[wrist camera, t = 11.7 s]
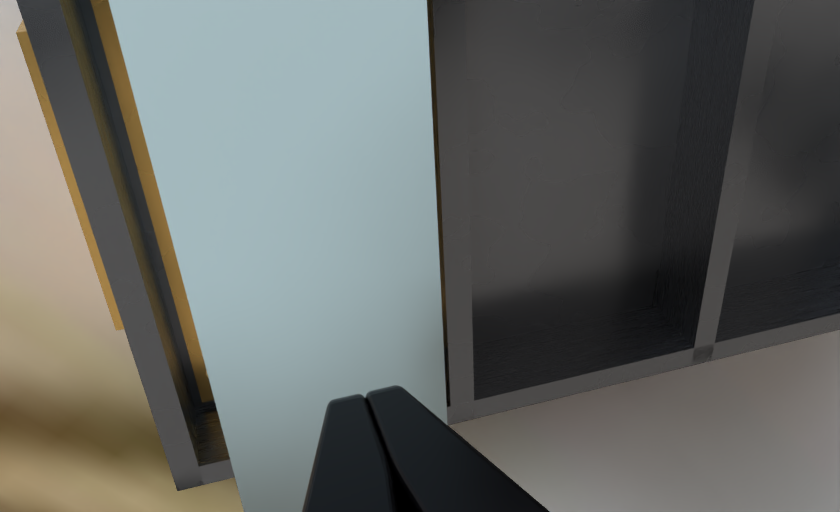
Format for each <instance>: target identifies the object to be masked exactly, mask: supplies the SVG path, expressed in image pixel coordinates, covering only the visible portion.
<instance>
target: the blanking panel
mask: <svg viewBox="0 0 840 512" xmlns="http://www.w3.org/2000/svg"><path fill="white" fill-rule="evenodd" d="M108 1H109V5H110V9H111V12H112V16H113V20H114V24H115V27H116V31H117V35H118V39H119V42H120V46H121V50H122V54H123V57H124V61H125V65H126V69H127V73H128V76H129V80H130V84H131V88H132V91H133V95H134V99H135V103H136V106H137V110H138V114H139V118H140V121H141V125H142V129H143V133H144V137H145V140H146V144H147V148H148V152H149V155H150V159H151V163H152V167H153V170H154V174H155V178H156V182H157V186H158V189H159V193H160V197H161V201H162V204H163V208H164V212H165V216H166V219H167V223H168V227H169V231H170V234H171V238H172V242H173V246H174V250H175V253H176V257H177V261H178V265H179V268H180V272H181V276H182V280H183V283H184V287H185V291H186V295H187V298H188V302H189V306H190V310H191V314H192V317H193V321H194V325H195V329H196V332H197V336H198V340H199V344H200V347H201V351H202V355H203V359H204V363H205V366H206V370H207V374H208V378H209V381H210V385H211V389H212V393H213V396H214V400H215V404H216V408H217V411H218V415H219V419H220V423H221V427H222V430H223V434H224V438H225V442H226V445H227V449H228V453H229V457H230V460H231V464H232V468H233V472H234V475H235V479H236V483H237V487H238V491H239V494H240V498H241V502H242V506H243V509H244V512H302V509H303V505H304V501H305V496H306V492H307V488H308V484H309V479H310V475H311V471H312V467H313V463H314V458H315V454H316V450H317V446H318V441H319V437H320V433H321V429H322V425H323V420H324V416H325V412H326V408H327V405H328V403H329V402H330V401H331V400H333V399H337V398H341V397H345V396H350V395H354V394H362V395H363V396H364V397H365V396H366V394H367V393H368V392H369V391H371V390H376V389H380V388H385V387H389V386H393V385H398V386H401V387H403V388H404V389H405V390H406V391H408V392H409V393H410V394H411V395H412V396H414V397H415V398H416V399H417V400H418V401H419V402H421V403H422V404H423V405H424V406H425V407H427V408H428V409H429V410H430V411H431V412H432V413H434V414H435V415H436V416H437V417H438V418H440V419H441V420H442V421H443V422H444V423H445V424H447V404H446V384H445V363H444V343H443V322H442V302H441V281H440V261H439V241H438V220H437V200H436V179H435V159H434V139H433V118H432V98H431V77H430V57H429V36H428V16H427V0H108ZM447 425H448V424H447Z"/></svg>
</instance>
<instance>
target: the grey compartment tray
mask: <svg viewBox="0 0 840 512" xmlns="http://www.w3.org/2000/svg"><path fill="white" fill-rule="evenodd" d="M17 3H18V6H19V9H20V12H21V15H22V18H23V20H22V22H21V24H20V26H19V28H18V30H17V32H16V34H17V37H18V40H19V43H20V46H21V48H22V51H23V54H24V57H25V60H26V63H27V66H28V69H29V72H30V75H31V78H32V81H33V84H34V87H35V90H36V93H37V96H38V99H39V102H40V105H41V108H42V111H43V114H44V117H45V120H46V123H47V126H48V129H49V132H50V135H51V138H52V141H53V144H54V147H55V150H56V153H57V156H58V159H59V162H60V165H61V168H62V171H63V174H64V177H65V180H66V183H67V186H68V189H69V192H70V194H71V197H72V200H73V203H74V206H75V209H76V212H77V215H78V218H79V221H80V224H81V227H82V230H83V233H84V236H85V239H86V242H87V245H88V248H89V251H90V254H91V257H92V260H93V263H94V266H95V269H96V272H97V275H98V278H99V281H100V284H101V287H102V290H103V293H104V296H105V299H106V302H107V305H108V308H109V311H110V314H111V317H112V320H113V323H114V326H115V329H116V330H121V329H125V332H126V335H127V338H128V341H129V344H130V348H131V351H132V354H133V357H134V360H135V363H136V366H137V369H138V372H139V375H140V378H141V381H142V384H143V387H144V390H145V393H146V396H147V399H148V402H149V405H150V409H151V412H152V415H153V418H154V421H155V424H156V427H157V430H158V433H159V436H160V439H161V442H162V445H163V448H164V451H165V454H166V457H167V460H168V463H169V466H170V470H171V473H172V476H173V479H174V482H175V485H176V488H177V491H180V490H184V489H188V488H193V487H197V486H201V485H205V484H209V483H213V482H217V481H221V480H225V479H229V478H233V477H235V475H234V472H233V468H232V464H231V460H230V457H229V453H228V449H227V445H226V442H225V438H224V434H223V430H222V427H221V423H220V419H219V415H218V411H217V408H216V404H215V400H214V396H213V393H212V389H211V385H210V381H209V378H208V374H207V370H206V366H205V363H204V359H203V355H202V351H201V347H200V344H199V340H198V336H197V332H196V329H195V325H194V321H193V317H192V314H191V310H190V306H189V302H188V298H187V295H186V291H185V287H184V283H183V280H182V276H181V272H180V268H179V265H178V261H177V257H176V253H175V250H174V246H173V242H172V238H171V234H170V231H169V227H168V223H167V219H166V216H165V212H164V208H163V204H162V201H161V197H160V193H159V189H158V186H157V182H156V178H155V174H154V170H153V167H152V163H151V159H150V155H149V152H148V148H147V144H146V140H145V137H144V133H143V129H142V125H141V121H140V118H139V114H138V110H137V106H136V103H135V99H134V95H133V91H132V88H131V84H130V80H129V76H128V73H127V69H126V65H125V61H124V57H123V54H122V50H121V46H120V42H119V39H118V35H117V31H116V27H115V24H114V20H113V16H112V12H111V9H110V5H109V1H108V0H17ZM427 16H428V36H429V57H430V77H431V98H432V118H433V139H434V159H435V179H436V200H437V220H438V241H439V261H440V281H441V302H442V322H443V343H444V363H445V384H446V404H447V424H448V425H450V424H455V423H459V422H463V421H467V420H471V419H475V418H479V417H483V416H487V415H491V414H495V413H500V412H504V411H508V410H512V409H516V408H520V407H524V406H528V405H532V404H536V403H541V402H545V401H549V400H553V399H557V398H561V397H565V396H569V395H573V394H577V393H581V392H586V391H590V390H594V389H598V388H602V387H606V386H610V385H614V384H618V383H622V382H627V381H631V380H635V379H639V378H643V377H647V376H651V375H655V374H659V373H663V372H667V371H672V370H676V369H680V368H684V367H688V366H692V365H696V364H700V363H704V362H708V361H712V360H717V359H721V358H725V357H729V356H733V355H737V354H741V353H745V352H749V351H753V350H758V349H762V348H766V347H770V346H774V345H778V344H782V343H786V342H790V341H794V340H798V339H803V338H807V337H811V336H815V335H819V334H823V333H827V332H831V331H835V330H839V329H840V0H427Z"/></svg>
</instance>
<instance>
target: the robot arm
mask: <svg viewBox="0 0 840 512" xmlns="http://www.w3.org/2000/svg"><path fill="white" fill-rule="evenodd" d="M302 512H549V511H548V510H547V509H546V508H545V507H544V506H542V505H541V504H540V503H539V502H538V501H536V500H535V499H534V498H533V497H532V496H531V495H529V494H528V493H527V492H526V491H525V490H523V489H522V488H521V487H520V486H519V485H518V484H516V483H515V482H514V481H513V480H512V479H510V478H509V477H508V476H507V475H506V474H505V473H503V472H502V471H501V470H500V469H499V468H497V467H496V466H495V465H494V464H493V463H492V462H490V461H489V460H488V459H487V458H486V457H484V456H483V455H482V454H481V453H480V452H479V451H477V450H476V449H475V448H474V447H473V446H471V445H470V444H469V443H468V442H467V441H466V440H464V439H463V438H462V437H461V436H460V435H458V434H457V433H456V432H455V431H454V430H453V429H451V428H450V427H449V426H448V425H447V424H445V423H444V422H443V421H442V420H441V419H440V418H438V417H437V416H436V415H435V414H434V413H432V412H431V411H430V410H429V409H428V408H427V407H425V406H424V405H423V404H422V403H421V402H419V401H418V400H417V399H416V398H415V397H414V396H412V395H411V394H410V393H409V392H408V391H406V390H405V389H404V388H403V387H401V386H398V385H393V386H389V387H385V388H380V389H376V390H371V391H369V392H368V393H367V394H366V396H365V397H364V396H363V395H362V394H354V395H350V396H345V397H341V398H337V399H333V400H331V401H330V402H329V403H328V405H327V408H326V412H325V416H324V420H323V425H322V429H321V433H320V437H319V441H318V446H317V450H316V454H315V458H314V463H313V467H312V471H311V475H310V479H309V484H308V488H307V492H306V496H305V501H304V505H303V509H302Z"/></svg>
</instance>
